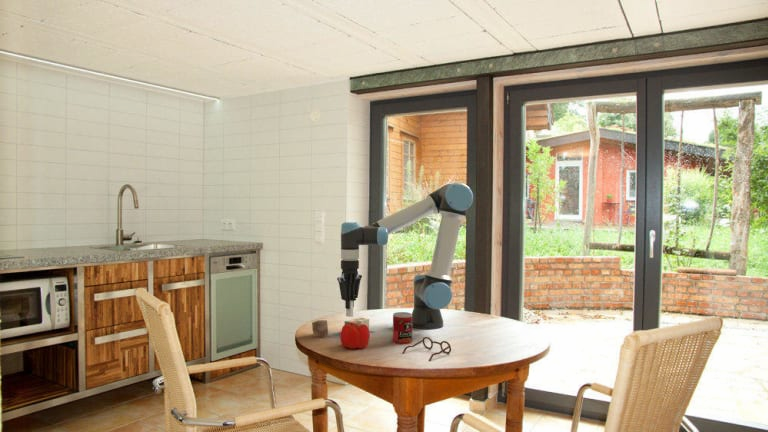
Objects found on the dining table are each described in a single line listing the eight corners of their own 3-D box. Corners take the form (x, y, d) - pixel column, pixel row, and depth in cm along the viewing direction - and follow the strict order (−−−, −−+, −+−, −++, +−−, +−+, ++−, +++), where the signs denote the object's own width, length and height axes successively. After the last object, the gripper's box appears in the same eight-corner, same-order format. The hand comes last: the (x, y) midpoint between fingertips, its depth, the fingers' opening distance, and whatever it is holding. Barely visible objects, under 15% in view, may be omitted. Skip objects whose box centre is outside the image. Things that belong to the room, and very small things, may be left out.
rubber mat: (375, 332, 219) (375, 331, 219) (344, 341, 204) (344, 340, 204) (355, 328, 226) (355, 327, 226) (324, 336, 211) (324, 335, 211)
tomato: (333, 348, 194) (334, 324, 194) (355, 342, 203) (356, 319, 203) (354, 353, 187) (354, 328, 187) (376, 347, 196) (376, 323, 196)
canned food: (398, 345, 199) (399, 316, 199) (389, 340, 206) (389, 312, 206) (415, 342, 203) (416, 315, 203) (405, 338, 210) (406, 311, 210)
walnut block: (328, 334, 212) (327, 320, 213) (322, 337, 208) (321, 322, 208) (318, 334, 214) (317, 320, 214) (313, 337, 210) (312, 322, 210)
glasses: (451, 355, 188) (451, 341, 188) (429, 363, 178) (429, 348, 178) (423, 348, 197) (424, 335, 197) (400, 355, 188) (401, 341, 187)
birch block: (353, 335, 213) (369, 330, 220) (353, 323, 212) (369, 319, 220) (344, 333, 216) (360, 328, 223) (344, 321, 216) (360, 317, 223)
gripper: (353, 257, 221) (353, 312, 222) (332, 260, 211) (332, 317, 211) (367, 259, 217) (366, 315, 217) (345, 261, 206) (345, 320, 207)
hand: (349, 316), depth 214 cm, fingers closed
